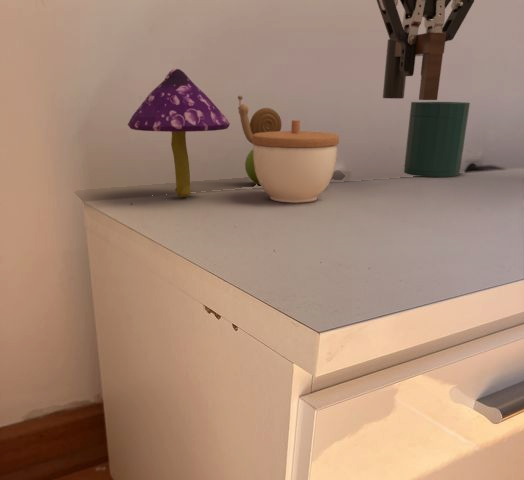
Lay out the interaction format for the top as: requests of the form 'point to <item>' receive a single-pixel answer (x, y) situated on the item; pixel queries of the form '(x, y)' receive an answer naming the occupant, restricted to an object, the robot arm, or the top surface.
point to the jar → (436, 138)
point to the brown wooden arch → (433, 52)
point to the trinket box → (294, 163)
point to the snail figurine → (257, 130)
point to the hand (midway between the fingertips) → (417, 75)
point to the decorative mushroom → (178, 119)
